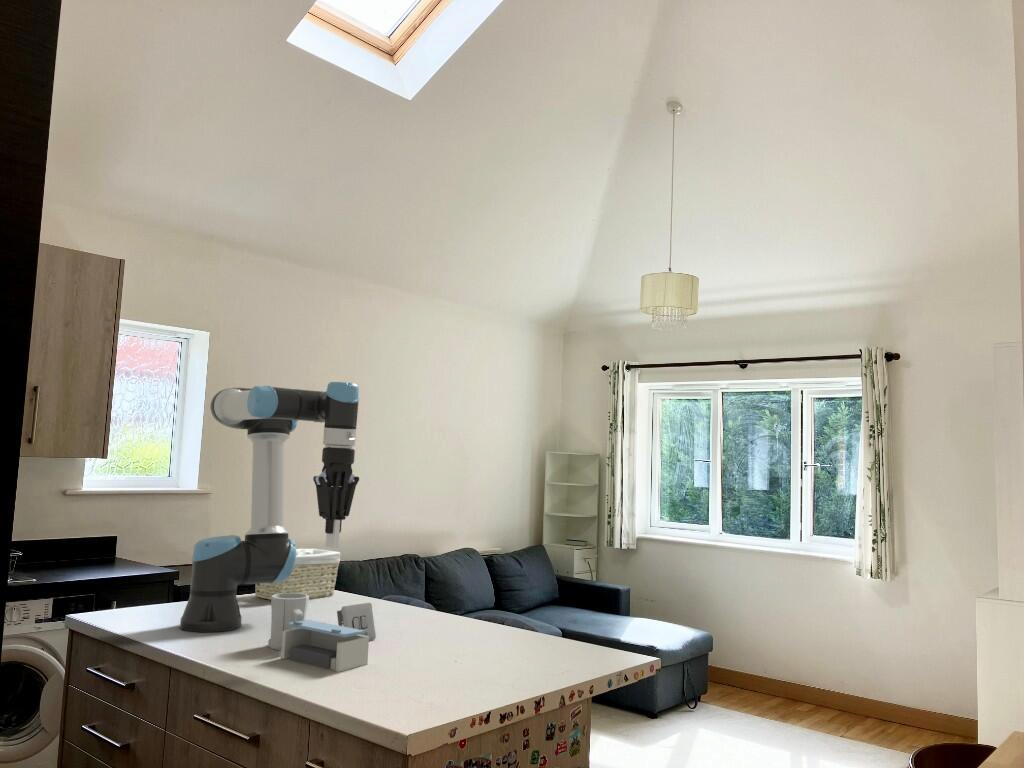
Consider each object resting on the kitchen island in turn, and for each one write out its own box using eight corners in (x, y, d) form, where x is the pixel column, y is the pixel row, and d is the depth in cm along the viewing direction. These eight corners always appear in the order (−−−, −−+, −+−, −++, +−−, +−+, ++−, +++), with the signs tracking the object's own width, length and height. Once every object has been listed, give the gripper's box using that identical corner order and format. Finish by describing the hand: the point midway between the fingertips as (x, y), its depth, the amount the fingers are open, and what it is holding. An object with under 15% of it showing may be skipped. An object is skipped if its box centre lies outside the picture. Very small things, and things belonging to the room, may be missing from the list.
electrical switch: (347, 645, 196) (347, 606, 198) (334, 644, 199) (334, 605, 201) (376, 640, 203) (376, 602, 205) (363, 638, 207) (362, 601, 208)
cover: (287, 627, 183) (287, 620, 183) (312, 623, 189) (312, 617, 189) (343, 638, 173) (344, 631, 173) (368, 634, 180) (368, 628, 180)
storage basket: (309, 590, 276) (312, 546, 277) (340, 596, 266) (343, 551, 267) (249, 597, 257) (252, 551, 258) (280, 604, 247) (283, 556, 248)
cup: (318, 645, 195) (322, 595, 196) (297, 653, 186) (300, 600, 188) (282, 640, 198) (285, 591, 200) (259, 648, 190) (263, 596, 191)
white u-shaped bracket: (280, 658, 181) (282, 631, 182) (310, 651, 189) (312, 625, 189) (338, 672, 172) (340, 643, 172) (367, 664, 179) (369, 636, 180)
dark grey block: (289, 660, 180) (290, 647, 180) (303, 657, 183) (304, 644, 184) (332, 670, 173) (333, 656, 173) (346, 667, 176) (346, 653, 176)
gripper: (329, 446, 182) (322, 551, 180) (369, 448, 193) (363, 547, 191) (307, 445, 186) (299, 547, 184) (347, 447, 197) (340, 543, 195)
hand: (331, 547), depth 188 cm, fingers closed
